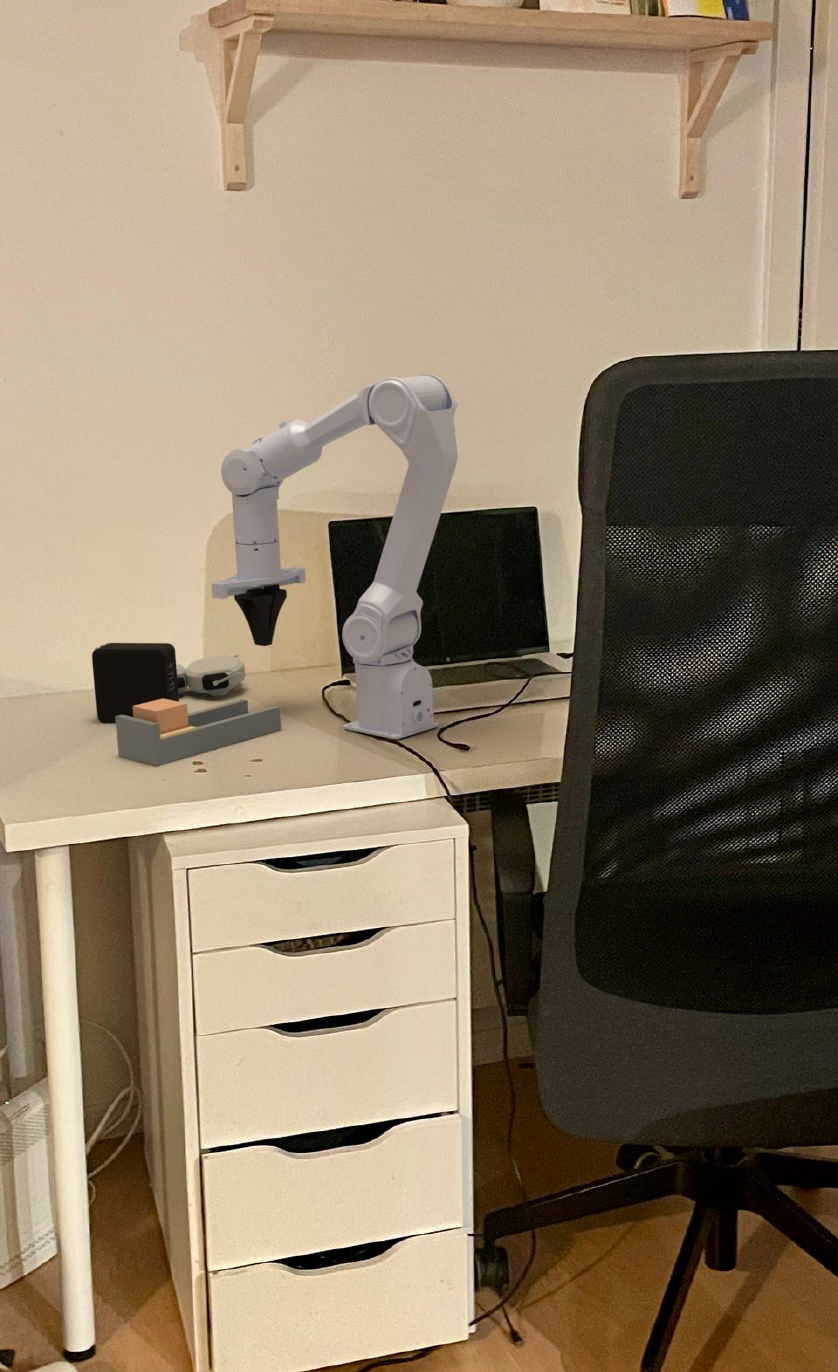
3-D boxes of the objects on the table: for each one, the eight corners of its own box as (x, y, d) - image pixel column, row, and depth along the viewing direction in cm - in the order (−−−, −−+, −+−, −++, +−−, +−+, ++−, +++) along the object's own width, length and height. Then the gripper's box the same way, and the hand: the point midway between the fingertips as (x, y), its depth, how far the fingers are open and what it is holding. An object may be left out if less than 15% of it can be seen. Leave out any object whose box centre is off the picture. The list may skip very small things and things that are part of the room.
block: (166, 737, 186) (163, 698, 185) (189, 743, 183) (186, 703, 182) (135, 746, 183) (132, 706, 182) (159, 752, 180) (156, 711, 179)
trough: (243, 721, 197) (241, 684, 196) (281, 729, 192) (279, 691, 191) (118, 756, 183) (115, 716, 182) (155, 766, 178) (152, 725, 177)
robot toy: (139, 714, 207) (248, 698, 209) (134, 682, 206) (244, 666, 208) (142, 693, 219) (246, 679, 221) (138, 663, 218) (241, 649, 220)
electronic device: (169, 724, 197) (163, 649, 195) (97, 723, 199) (90, 649, 197) (180, 716, 201) (174, 643, 199) (110, 715, 203) (103, 642, 201)
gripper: (277, 532, 203) (283, 631, 206) (193, 546, 193) (200, 650, 196) (314, 536, 198) (319, 637, 202) (229, 550, 188) (236, 657, 191)
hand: (263, 644), depth 198 cm, fingers closed
